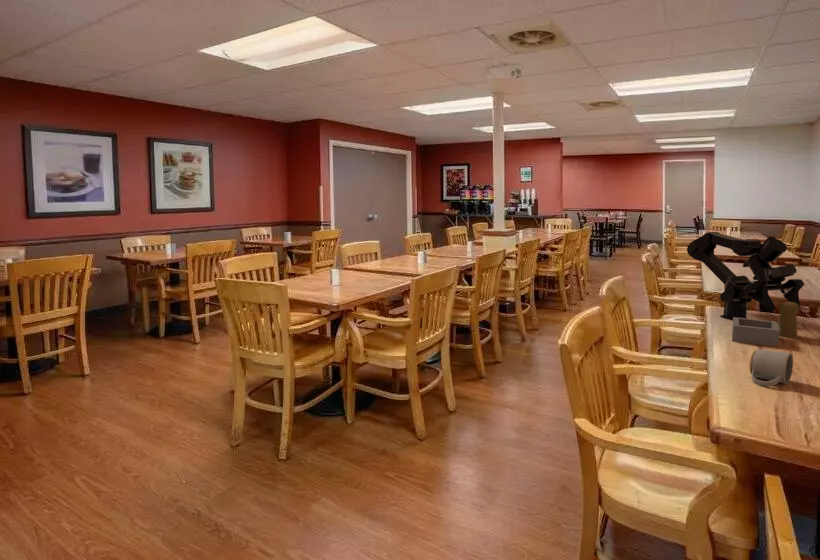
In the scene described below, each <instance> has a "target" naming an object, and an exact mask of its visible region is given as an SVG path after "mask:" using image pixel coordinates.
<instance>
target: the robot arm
mask: <svg viewBox="0 0 820 560" xmlns="http://www.w3.org/2000/svg"><path fill="white" fill-rule="evenodd" d="M717 246H720V247H723V248H727V249H730V250H731V251H732V252H733V254H735V255H737V256H739V257H749V258H747V259H744V262H743V264H742V268H749V269H750V271H751V273H752V274H753V275H754V276H753V277H752V280H750V279H749V278H748V276H746V275H736V274H735V273H734V271H732V270H731V269H730V268H729V267H728V266H727V265H726V264H725V263H724V262H723V261H722V260H721V259H719V258H718V256H716V254H715V249H716V248H717ZM787 249H788V247H787V244H786V243H784V242H783V241H782V240H780V239H777V238H776V237H775V236H772V235H771V236H768V237H767V238H766V239H765V240H764V242H763V243H762V241H760V240H759V239H753V238H752V239H751V238H749V239H748V238H746V239H745V238H737V237H734V236H731V235H727V234H723V233H720V232H719V231H708V232H704V234H702V236H699V237H697V238H696V239H694V240H692V241H691V242H690V243H689V244H688V245H687V247H686V253H687V255H688V256H690V257H691V258H692V259H693V260H696V261H698V262H701V263H703V265H705V267H707V268H708V269H709V271H711V272H712V273H713V275H715V277H716V278H718V280H719V281H720V282H722V284H724V285H723V287H724V290H723V292H722V293H720V296H719V297H720V301H722V302H724V304H723V305H724V307H723V314H722V315H721V314H720V315H719V317H721V318H725V319H729V320H732V321H733V317H737V318H747V319H749V317H747V312H748V311H747V310H748V307H747V303H751V302H752V300H754V301H755V302H758V303H759V304H761V305H762V306H764V307H766V308H767V309H769V310H771V311H772V312H773V311H774V312H775V311H776V306H775V304H774V302H773V300H772V298H771V296H770V295H769V292H770V291H780V293H782V294H783V298H785V299H786V300H787V302H794V303H797V304H798V305H799V309H801V303H800V298H799V297H800V295H799V292H800V290H801V289H803V287H804V286H805V283H804V281H803V280H802V278H801V279H800V278H791V279H788V280H787V281H786V278H787V277H788V278H789V277H793V276H794V275H795V274H797V268H796V266H795V265H794V264H793V263H791V264H790V263H789V264H786V265H781V266H777V267H773V266H772V264H771V263H772V262H773V263H774V262H775V261H776V260H778V258H779V257H780V256H782V255H783V254H784V253H785V252H786V251H787ZM784 281H785V282H784ZM782 282H784V283H782Z"/></svg>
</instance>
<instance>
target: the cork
mask: <svg viewBox="0 0 820 560" xmlns="http://www.w3.org/2000/svg"><path fill="white" fill-rule="evenodd" d="M778 306H779V311H780V314H779V317H778V320H777V323H778V326H779V329H780V335H779V337H780V336H781V337H780V338H785V337H786V339H796V338H798V328H797V326H798V323H797V313H798V312H799V311H800V308H799V305H798V304H797V303H794V302H789V301H782V302H781V303H780V304H779V305H778ZM795 337H796V338H795Z"/></svg>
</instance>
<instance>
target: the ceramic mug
mask: <svg viewBox="0 0 820 560" xmlns="http://www.w3.org/2000/svg"><path fill="white" fill-rule="evenodd" d="M793 369H794V357H793V354H792V353H790V352H783V351H774V350H766V349H756V350H754V351H753V352H752V354H751V356H750V360H749V372H750V375H751V380H752V382H753V383H755V384H756V385H758V384H759V385H758V386H760V385H763V386H762V387H766V386H768V387H773V386H775V385H777V384H779V383H780V384H784V385H788V384H789V383H790V382H791V378H792V375H793ZM760 379H761V380H760ZM762 379H763V380H762ZM764 380H765V381H764ZM766 380H767V381H766ZM787 383H788V384H787Z"/></svg>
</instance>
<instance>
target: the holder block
mask: <svg viewBox="0 0 820 560" xmlns="http://www.w3.org/2000/svg"><path fill="white" fill-rule="evenodd" d="M779 335H780V329H779V326H778V320H777V321H775V320H774V321H773V320H765V319H757V318H748V319H747V318H737V317H733V320H732V328H731V341H732V342H737V343H743V344H744V343H746V344H752V345H753V344H754V345H761V344H762V345H761V346H769V345H771V346H770V347H777V346H778V347H779V341H780V336H779Z"/></svg>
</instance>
